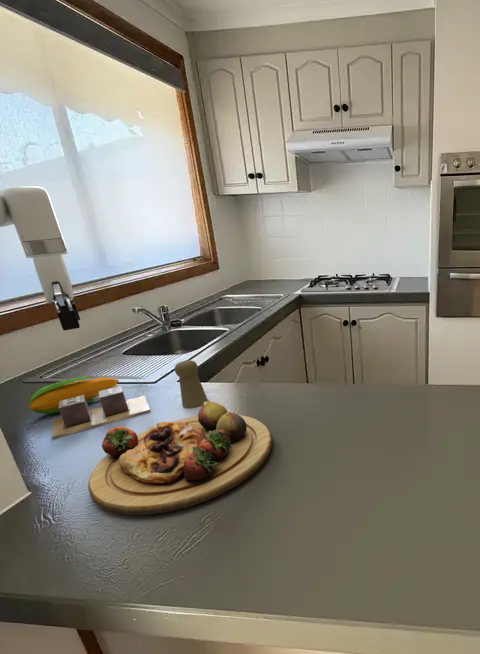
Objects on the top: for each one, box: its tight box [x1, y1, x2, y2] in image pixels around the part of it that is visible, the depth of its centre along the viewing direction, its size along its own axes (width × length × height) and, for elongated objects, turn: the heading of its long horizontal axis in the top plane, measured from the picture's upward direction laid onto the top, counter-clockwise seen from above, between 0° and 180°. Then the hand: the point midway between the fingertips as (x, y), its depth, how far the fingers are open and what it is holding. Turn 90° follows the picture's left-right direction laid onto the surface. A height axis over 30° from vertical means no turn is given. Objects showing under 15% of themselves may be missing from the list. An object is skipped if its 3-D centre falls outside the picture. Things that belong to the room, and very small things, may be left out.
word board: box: [51, 394, 151, 440], centre depth 103 cm, size 20×11×1 cm, turn 123°
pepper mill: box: [174, 359, 209, 409], centre depth 104 cm, size 6×6×11 cm
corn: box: [27, 374, 119, 415], centre depth 110 cm, size 7×8×20 cm
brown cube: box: [98, 385, 129, 416], centre depth 103 cm, size 5×5×5 cm
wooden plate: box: [87, 400, 273, 516], centre depth 79 cm, size 32×32×8 cm
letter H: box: [58, 395, 91, 427], centre depth 99 cm, size 5×5×5 cm
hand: (72, 325), depth 98 cm, fingers open, 9 cm apart
